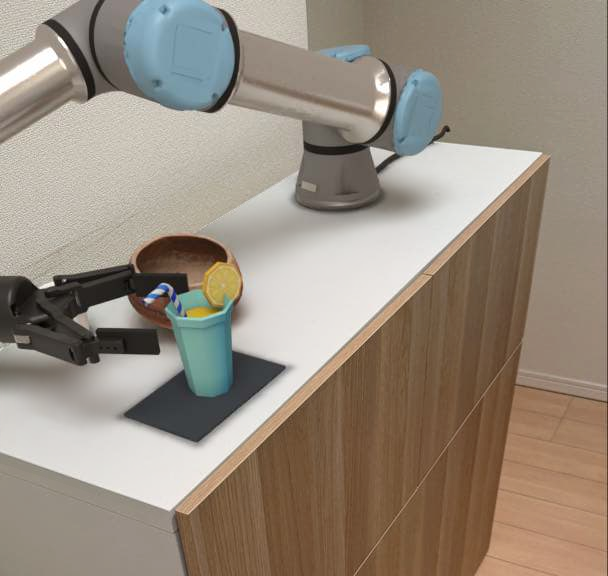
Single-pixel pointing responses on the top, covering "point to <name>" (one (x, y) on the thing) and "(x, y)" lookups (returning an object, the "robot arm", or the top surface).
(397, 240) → the top surface
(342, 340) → the top surface
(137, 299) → the bowl
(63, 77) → the robot arm
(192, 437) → the placemat
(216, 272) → the cup
